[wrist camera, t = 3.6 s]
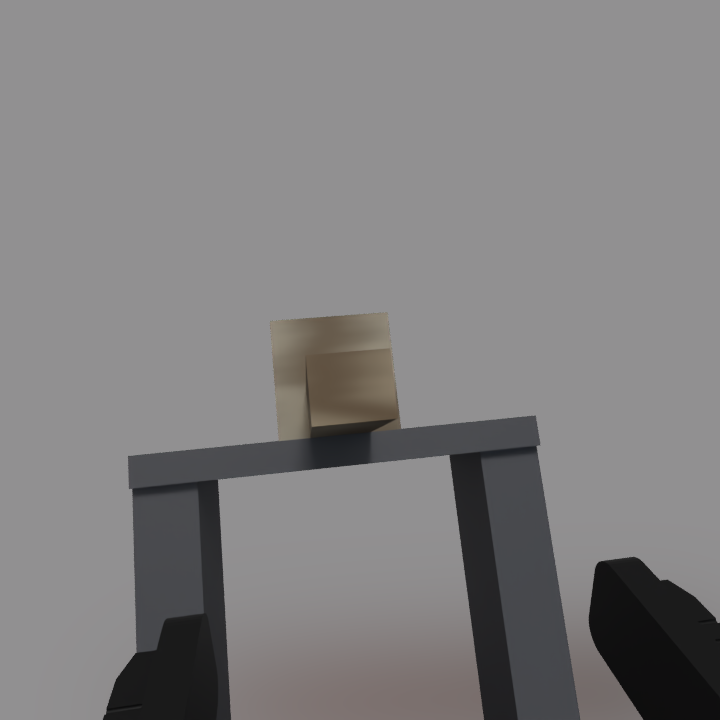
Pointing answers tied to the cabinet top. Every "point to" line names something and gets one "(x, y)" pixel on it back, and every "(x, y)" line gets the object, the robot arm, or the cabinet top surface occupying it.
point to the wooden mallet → (334, 376)
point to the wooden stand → (477, 533)
